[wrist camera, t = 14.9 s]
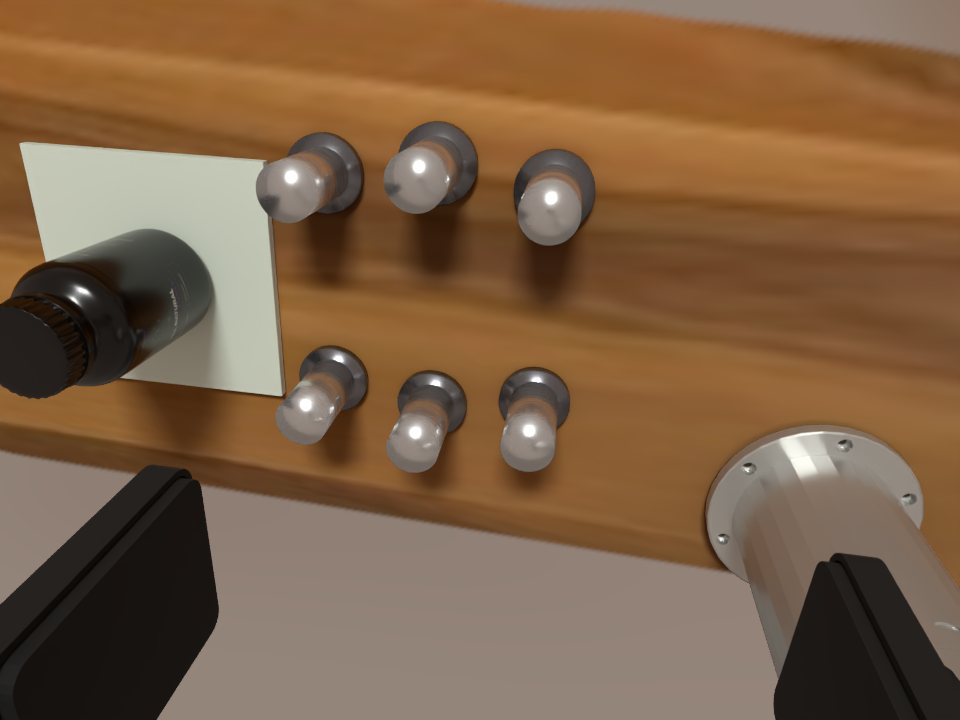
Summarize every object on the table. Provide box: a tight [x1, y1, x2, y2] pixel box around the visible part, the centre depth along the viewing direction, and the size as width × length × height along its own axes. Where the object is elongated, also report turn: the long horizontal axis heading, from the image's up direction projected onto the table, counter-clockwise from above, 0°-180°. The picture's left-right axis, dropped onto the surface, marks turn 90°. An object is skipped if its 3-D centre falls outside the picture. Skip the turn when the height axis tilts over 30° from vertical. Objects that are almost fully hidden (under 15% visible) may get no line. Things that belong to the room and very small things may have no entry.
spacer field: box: [256, 121, 595, 473], centre depth 38 cm, size 17×19×6 cm
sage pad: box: [20, 142, 286, 396], centre depth 43 cm, size 15×15×1 cm
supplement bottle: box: [0, 229, 211, 399], centre depth 37 cm, size 7×7×12 cm
